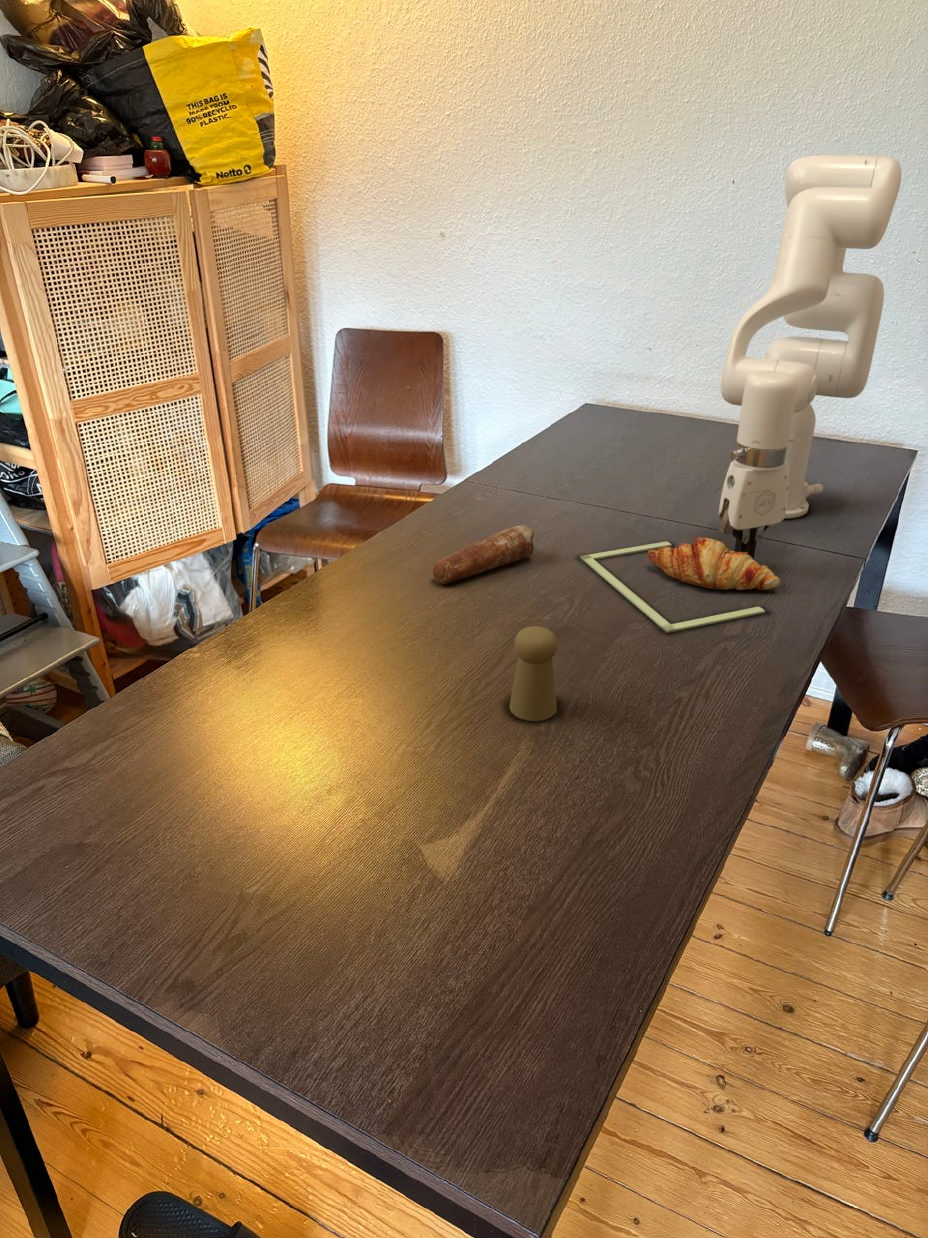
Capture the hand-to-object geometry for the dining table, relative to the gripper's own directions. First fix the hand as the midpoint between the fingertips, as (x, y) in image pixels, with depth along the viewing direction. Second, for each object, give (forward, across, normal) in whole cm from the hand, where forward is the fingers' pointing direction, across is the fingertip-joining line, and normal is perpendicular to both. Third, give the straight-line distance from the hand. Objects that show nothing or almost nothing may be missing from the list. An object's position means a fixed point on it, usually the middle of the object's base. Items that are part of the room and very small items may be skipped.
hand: (743, 561), depth 149 cm
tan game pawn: (+2, -49, -23) cm, 54 cm away
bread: (+2, -39, +16) cm, 42 cm away
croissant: (+2, -7, -1) cm, 7 cm away
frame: (+2, -14, 0) cm, 14 cm away
